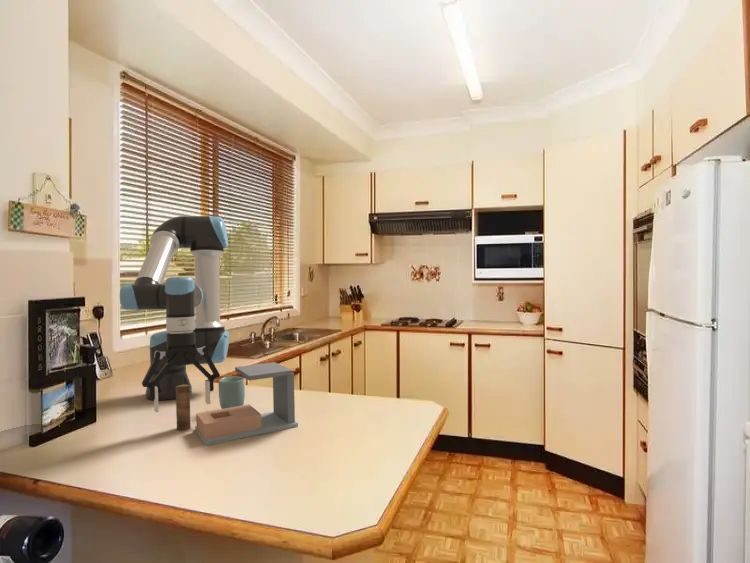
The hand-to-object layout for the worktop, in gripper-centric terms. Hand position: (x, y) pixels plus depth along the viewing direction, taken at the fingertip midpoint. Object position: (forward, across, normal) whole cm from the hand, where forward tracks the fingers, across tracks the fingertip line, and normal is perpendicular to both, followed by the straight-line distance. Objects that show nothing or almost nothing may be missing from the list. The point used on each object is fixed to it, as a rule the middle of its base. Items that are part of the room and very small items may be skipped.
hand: (182, 407), depth 131 cm
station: (+6, +15, -10) cm, 19 cm away
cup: (+6, +16, +10) cm, 20 cm away
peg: (+6, 0, 0) cm, 6 cm away
